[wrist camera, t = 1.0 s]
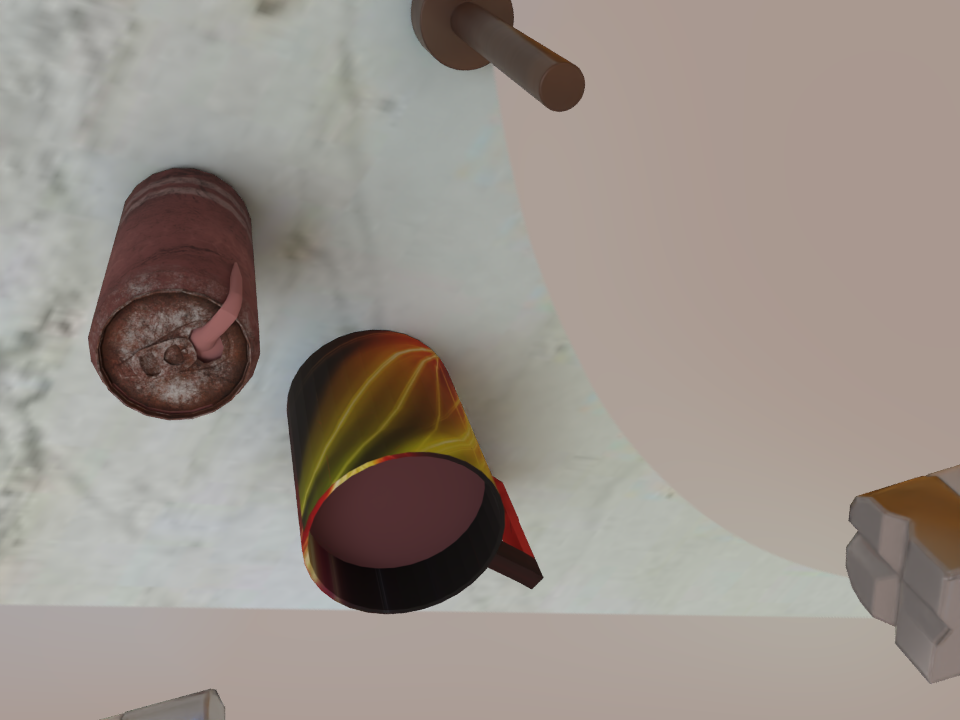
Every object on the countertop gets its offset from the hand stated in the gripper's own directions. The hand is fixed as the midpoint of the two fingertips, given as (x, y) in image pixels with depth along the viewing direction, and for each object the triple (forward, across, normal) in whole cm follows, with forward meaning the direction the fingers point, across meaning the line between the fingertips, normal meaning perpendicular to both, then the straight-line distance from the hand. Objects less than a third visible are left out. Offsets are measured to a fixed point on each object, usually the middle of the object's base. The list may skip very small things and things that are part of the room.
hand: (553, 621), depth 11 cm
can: (+37, +8, +7) cm, 38 cm away
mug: (+37, 0, +20) cm, 42 cm away
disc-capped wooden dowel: (+37, -7, -1) cm, 38 cm away
